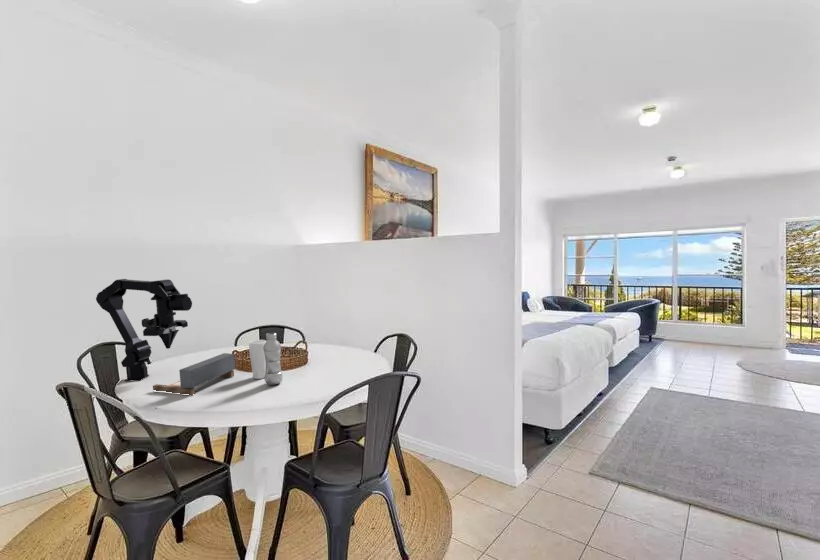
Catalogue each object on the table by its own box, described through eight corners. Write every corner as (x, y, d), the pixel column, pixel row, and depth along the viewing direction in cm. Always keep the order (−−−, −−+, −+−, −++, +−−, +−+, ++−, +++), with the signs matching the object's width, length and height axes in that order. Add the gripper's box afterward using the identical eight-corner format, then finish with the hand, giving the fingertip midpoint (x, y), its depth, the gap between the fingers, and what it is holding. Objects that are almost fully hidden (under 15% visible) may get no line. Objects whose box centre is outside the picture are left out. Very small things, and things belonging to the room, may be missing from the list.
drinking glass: (271, 374, 174) (269, 339, 172) (264, 380, 167) (261, 343, 166) (255, 374, 174) (253, 339, 173) (248, 380, 168) (245, 343, 166)
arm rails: (153, 392, 157) (152, 385, 157) (198, 373, 178) (198, 367, 178) (191, 395, 152) (191, 389, 152) (234, 376, 173) (233, 370, 173)
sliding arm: (180, 387, 153) (179, 369, 152) (224, 368, 175) (223, 353, 174) (191, 388, 151) (190, 370, 151) (235, 369, 173) (233, 353, 172)
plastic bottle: (267, 381, 165) (264, 332, 163) (284, 380, 166) (281, 331, 164) (262, 387, 159) (259, 335, 157) (281, 386, 159) (278, 335, 158)
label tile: (168, 387, 162) (167, 385, 162) (190, 377, 173) (190, 376, 173) (184, 388, 160) (184, 386, 160) (206, 379, 170) (205, 377, 170)
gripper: (163, 307, 179) (166, 342, 181) (128, 314, 161) (132, 354, 162) (187, 307, 178) (190, 342, 179) (154, 314, 159) (158, 354, 161)
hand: (168, 348), depth 170 cm, fingers closed
